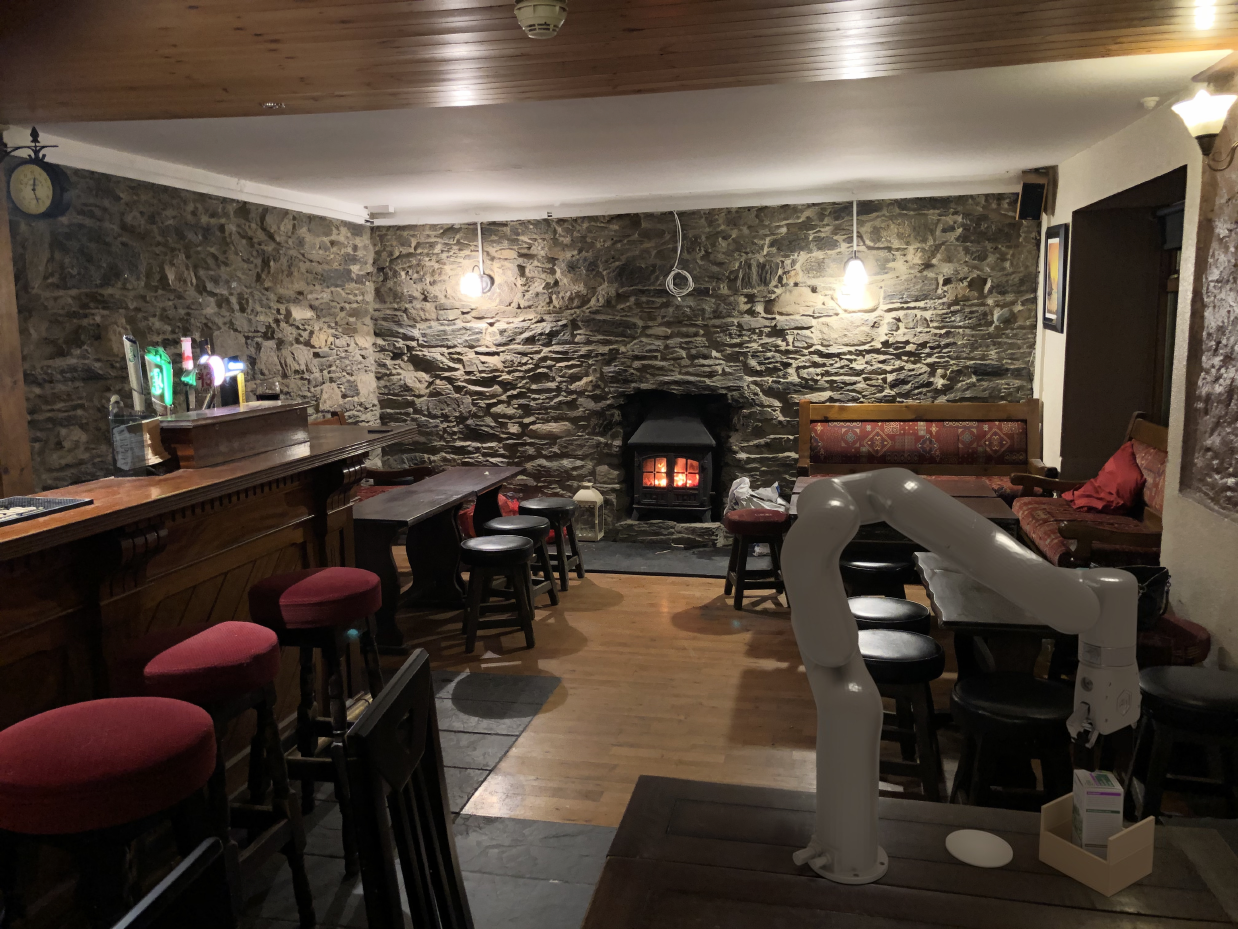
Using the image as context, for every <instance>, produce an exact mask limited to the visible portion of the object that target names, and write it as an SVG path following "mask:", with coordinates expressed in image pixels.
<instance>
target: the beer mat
mask: <svg viewBox="0 0 1238 929" xmlns="http://www.w3.org/2000/svg"><path fill="white" fill-rule="evenodd" d="M945 847H946V850H947V851H948V852H949V853H950V855H951V856H953V857H954V858H956V859H957V860H959V861H960V862H963V863H966V865H967V864H968V865H970V866H974V867H980V868H985V869H986V868H989V869H991V868H992V869H993V868H1001V867H1005V866H1006V865H1007V864H1009V863H1010V862H1011V861H1012V860H1013V857H1014V856H1013V854H1014V852H1013V849H1012V847H1011V846H1010V844H1009V843H1008V842H1007V841H1006V840H1004V839H1002V837H999V836H997V835H995V834H993V833H990V832H987V831H983V830H977V829H960V830H955V831H953V832H951V833H949V834H948V835H947V837H946V838H945Z"/></svg>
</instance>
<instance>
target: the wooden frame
mask: <svg viewBox="0 0 1238 929" xmlns="http://www.w3.org/2000/svg"><path fill="white" fill-rule="evenodd" d="M1040 807H1041V809H1040V810H1041V813H1040V829H1039V830H1040V831H1039V848H1038V849H1039V851H1038V853H1039V854H1038V860H1039V861H1041V862H1043V863H1045V864H1047V865H1048V866H1050V867H1052V868H1054V869H1055V870H1057V871H1059V872H1060V873H1063V874H1064V875H1067V876H1068V877H1071V878H1072V879H1073V880H1075V881H1077V882H1079V883H1081V884H1083V885H1085V886H1087V887H1089V888H1091V889H1093V890H1094V891H1096V892H1097V893H1099V894H1102V895H1103V896H1105V897H1107V898H1110V897H1113V896H1114V895H1115V894H1118V892H1120V891H1122V890H1124V889H1126V888H1127V887H1130V886H1131V885H1132V884H1135V883H1136V882H1138V881H1139V880H1141V879H1142V878H1145V877H1147V876H1148V875H1150V874H1152V873H1153V863H1154V862H1153V859H1154V847H1155V846H1154V844H1155V842H1154V838H1155V837H1154V836H1155V825H1156V824H1155V823H1156V817H1155V816H1153V815H1150V816H1148V817H1147V818H1145V819H1143V820H1141V821H1139V822H1137V823H1135V824H1133V825H1131V826H1129V827H1128V828H1125V827H1124V826H1122V831H1121V832H1119V833H1118V834H1116V835H1114V836H1112V837H1110V838H1108V847H1107V861H1105V860H1103V859H1101V858H1099V857H1097V856H1095V855H1093V854H1091V853H1089V852H1087V851H1085V850H1083V849H1081V848H1079V847H1077V846H1075V845H1073V844H1071V837H1072V810H1073V791H1071V792H1069V793H1067V794H1064V795H1063V796H1060V797H1058V798H1056V799H1054V800H1052V801H1050V802H1048V803H1046V804H1044V805H1041V806H1040Z"/></svg>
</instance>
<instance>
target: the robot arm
mask: <svg viewBox="0 0 1238 929" xmlns="http://www.w3.org/2000/svg"><path fill="white" fill-rule="evenodd" d="M795 505H796V507H795V508H796V516H797V519H796V520H795V522H794V523H793V524H792V525H791V527H790V528H789V530H788V531H787V534H786V535H785V538H784V540H783V543H782V547H781V550H780V556H779V558H780V569H781V575H782V579H783V584H784V587H785V590H786V594H787V599H788V603H789V606H790V610H791V612H790V622H791V626H792V631H793V633H794V638H795V639H796V640H795V641H796V643H797V647H798V650H799V654H800V657H801V660H802V663H803V666H804V670H805V673H806V676H807V679H808V683H809V687H810V688H811V691H812V694H813V699H814V702H815V705H816V710H817V711H816V712H817V727H816V728H817V729H816V741H815V742H816V744H815V746H816V747H815V770H816V771H815V772H816V773H815V776H816V778H815V780H816V782H815V783H816V784H815V788H816V789H815V790H816V792H815V800H816V801H815V833H814V834H811V837H810V841H809V843H808V844H807V846H806V848H802V849H800V850H797V851H795V852H793V854H792V859H793V862H794V864H796V865H797V866H802V865H803V864H805V863H807V864H808V865H809V867H810V868H811V869H812V870H813V871H814V872H816V874H818V875H820V876H822V877H823V878H825V879H827V880H831V881H834V882H838V883H840V884H841V883H842V884H847V885H862V884H868V883H872V882H876V881H877V880H879V879H880V878H882V877H883V876H885V875H886V873H887V872H888V868H889V857H888V854H887V851H886V850H885V849H884V848H883V847H882V846H881V845H880V844H879V816H880V815H879V808H880V803H879V802H880V799H879V798H880V794H879V793H880V745H881V738H882V737H881V736H882V729H883V723H884V722H883V721H884V706H883V702H882V697H881V694H880V692H879V689H878V686H877V685H876V683H875V681H874V679H873V677H872V675H871V674H870V672H869V670H868V668H867V666H866V663H865V660H864V658H863V654H862V651H861V647H860V645H859V640H860V639H859V638H860V637H859V636H860V634H859V633H860V632H859V627H858V624H857V621H856V619H855V616H854V614H853V612H852V609H851V607H850V603H849V601H848V596H847V594H846V591H845V587H844V586H845V585H844V582H843V579H842V578H843V577H842V574H841V570H840V557H841V555H842V553H843V550H844V549H845V548H846V546H848V544H849V543H851V541H852V539H854V537H855V536H856V534H857V532H858V531H859V529H860V526H862V525H863V526H864V525H869V524H874V523H878V522H885V523H886V524H887V525H889V526H890V527H892V529H894V530H896V531H898V532H899V533H901V534H902V535H903V536H905V537H907V538H909V539H910V540H911V541H913V542H915V543H916V544H918V545H920V546H921V547H923V548H925V549H926V550H928V551H929V552H931V553H933V554H934V555H936V556H937V557H939V558H940V559H941V560H944V561H945V562H946V563H948V564H950V565H951V566H952V567H954V568H955V569H957V570H959V571H961V572H963V573H964V574H965V575H967V577H970V578H971V579H973V580H974V581H976V582H978V583H980V584H982V585H984V586H985V587H987V588H989V589H990V590H992V591H994V592H995V593H997V594H999V595H1000V596H1003V597H1004V598H1005V599H1006V600H1008V601H1010V602H1011V603H1012V604H1014V605H1015V606H1017V607H1019V608H1020V609H1022V610H1024V611H1025V612H1027V613H1028V614H1030V615H1031V616H1033V617H1034V618H1036V619H1038V620H1039V621H1041V622H1042V623H1044V624H1046V625H1047V626H1048V627H1050V628H1052V629H1054V630H1056V631H1057V632H1060V633H1063V634H1066V635H1078V649H1077V651H1078V652H1077V653H1078V654H1077V656H1078V657H1077V658H1078V660H1079V662H1078V667H1077V672H1076V679H1075V684H1074V685H1075V686H1074V698H1073V712H1072V714H1071V715H1070V716H1069V717H1068V719H1066V723H1065V724H1066V727H1067V730H1068V736H1069V737H1070V738H1071V742H1073V755H1072V756H1073V760H1072V761H1073V762H1072V764H1073V766H1075V767H1077V768H1078V769H1080V770H1086V771H1089V772H1091V773H1093V772H1095V771H1096V770H1097V746H1094V745H1095V742H1096V740H1097V738H1098V736H1099V734H1101V735H1104V736H1105V735H1110V734H1111V748H1113V749H1115V750H1117V751H1121V752H1123V753H1125V754H1128V755H1133V754H1134V753H1135V737H1136V736H1135V734H1136V733H1135V729H1136V728H1137V724H1138V723H1137V722H1138V720H1139V719H1140V716H1141V702H1142V698H1143V695H1142V694H1141V685H1140V684H1141V683H1140V672H1139V666H1138V660H1137V657H1136V656H1137V627H1138V626H1137V625H1138V599H1139V597H1138V596H1139V595H1138V594H1139V584H1138V579H1137V577H1136V576H1135V575H1134V574H1133V573H1131V572H1130V571H1127V570H1124V569H1120V568H1113V567H1095V568H1090V569H1078V568H1069V567H1068V568H1067V567H1060V566H1055V565H1053V564H1052V563H1050V562H1049V561H1047V560H1045V559H1044V558H1042V557H1041V556H1039V555H1037V554H1036V553H1034V552H1033V551H1032V550H1030V549H1029V548H1028V547H1026V546H1025V545H1023V543H1021V542H1019V541H1018V540H1017V539H1016V538H1015V537H1013V536H1012V535H1011V534H1010V533H1008V532H1007V531H1006V530H1004V529H1003V528H1001V527H1000V526H999V525H998V524H996V523H995V522H993V521H991V520H990V519H988V518H987V517H985V516H983V515H982V514H980V513H978V511H975V510H974V509H972V508H970V507H969V506H967V505H965V504H964V503H962V502H961V501H959V500H957V499H956V498H954V497H953V496H952V495H950V494H948V493H947V492H945V491H943V489H940V488H939V487H937V486H935V485H934V484H933V483H931V482H929V480H928V481H927V480H926V479H924V478H923V477H921V476H919V475H918V474H917V473H915V472H913V471H911V470H909V469H908V468H903V467H888V468H887V467H886V468H880V469H874V470H868V471H863V472H857V473H850V474H845V475H837V476H831V477H825V478H821V479H817V480H815V481H812V482H810V483H809V484H807V485H806V486H804V488H803V489H801V491H800V493H799V494H798V496H797V499H796V504H795ZM1089 723H1092V724H1089ZM1084 730H1088V731H1090V732H1089V734H1088V736H1087V735H1086V734H1085V732H1084Z"/></svg>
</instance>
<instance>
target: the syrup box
mask: <svg viewBox="0 0 1238 929" xmlns="http://www.w3.org/2000/svg"><path fill="white" fill-rule="evenodd" d="M1072 780H1073V782H1072V783H1073V784H1072V786H1073V787H1072V792H1073V810H1072V837H1071V844H1073V845H1075V846H1077V847H1079V848H1081V849H1083V850H1085V851H1087V852H1089V853H1091V854H1093V855H1095V856H1097V857H1099V858H1101V859H1103V860H1105V861H1107V847H1108V838H1110V837H1112V836H1114V835H1116V834H1118V833H1119V832H1121V831H1122V827H1123V823H1124V820H1123V819H1124V818H1123V815H1124V814H1123V812H1124V793H1125V791H1124V789H1123V787H1122V786H1121V784H1120V783H1119V781H1118V780H1117V777H1115V776H1114V774H1113V772H1112V771H1108V770H1107V771H1106V770H1099V769H1096V771H1095V772H1093V773H1091V772H1089V771H1086V770H1084V769H1073V779H1072Z"/></svg>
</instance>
